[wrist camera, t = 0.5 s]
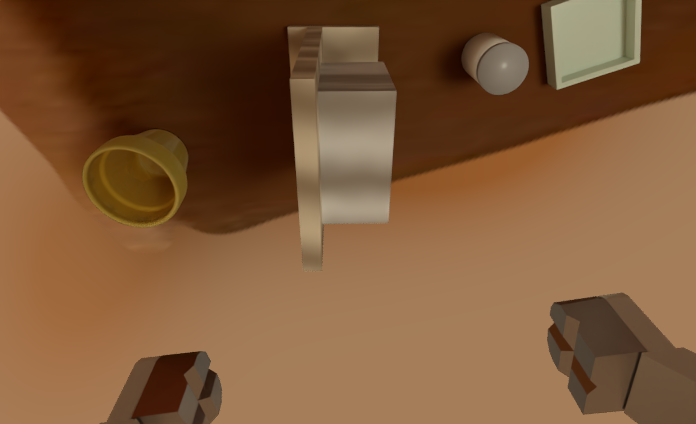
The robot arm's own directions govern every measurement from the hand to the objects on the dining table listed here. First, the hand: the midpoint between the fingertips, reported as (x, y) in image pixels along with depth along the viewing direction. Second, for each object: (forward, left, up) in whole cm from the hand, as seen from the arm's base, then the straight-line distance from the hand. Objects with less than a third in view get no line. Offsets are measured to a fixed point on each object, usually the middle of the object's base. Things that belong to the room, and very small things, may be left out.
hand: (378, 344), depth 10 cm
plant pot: (+21, -18, -44) cm, 52 cm away
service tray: (-9, +26, -44) cm, 52 cm away
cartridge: (-3, +16, -44) cm, 47 cm away
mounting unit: (+7, +1, -44) cm, 45 cm away
